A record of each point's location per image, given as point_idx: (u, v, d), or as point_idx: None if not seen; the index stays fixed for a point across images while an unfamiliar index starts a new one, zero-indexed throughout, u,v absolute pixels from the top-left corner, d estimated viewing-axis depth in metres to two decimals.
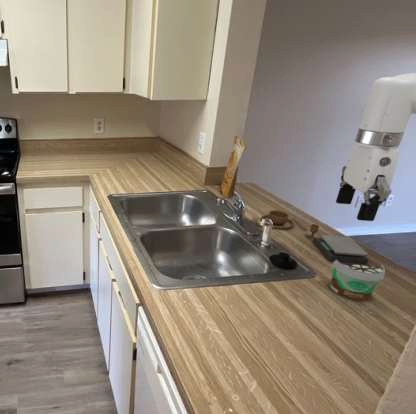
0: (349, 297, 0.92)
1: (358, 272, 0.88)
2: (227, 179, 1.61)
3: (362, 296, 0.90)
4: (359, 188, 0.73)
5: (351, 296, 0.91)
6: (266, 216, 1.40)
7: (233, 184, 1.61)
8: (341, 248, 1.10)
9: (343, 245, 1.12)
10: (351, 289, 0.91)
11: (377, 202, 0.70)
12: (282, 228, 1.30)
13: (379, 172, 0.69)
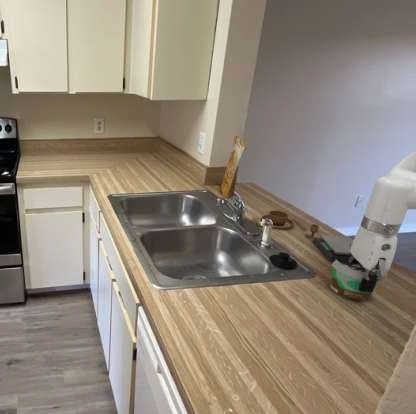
0: (349, 297, 0.92)
1: (358, 272, 0.88)
2: (227, 179, 1.61)
3: (362, 296, 0.90)
4: (364, 265, 0.86)
5: (351, 296, 0.91)
6: (266, 216, 1.40)
7: (233, 184, 1.61)
8: (341, 248, 1.10)
9: (343, 245, 1.12)
10: (351, 289, 0.91)
11: (375, 279, 0.84)
12: (282, 228, 1.30)
13: (381, 255, 0.82)
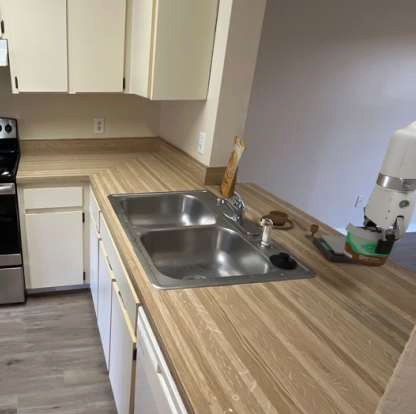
0: (364, 261, 0.87)
1: (374, 234, 0.83)
2: (227, 179, 1.61)
3: (378, 260, 0.86)
4: (380, 225, 0.81)
5: (366, 260, 0.87)
6: (266, 216, 1.40)
7: (233, 184, 1.61)
8: (341, 248, 1.10)
9: (343, 245, 1.12)
10: (366, 252, 0.86)
11: (393, 239, 0.80)
12: (282, 228, 1.30)
13: (399, 213, 0.77)
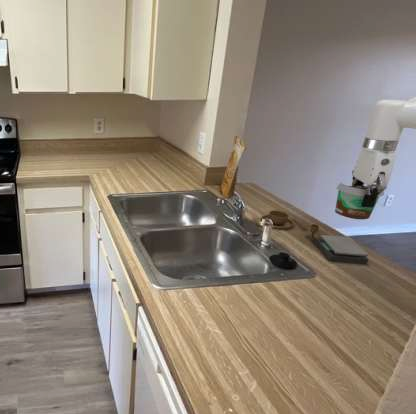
0: (352, 215, 1.03)
1: (360, 190, 0.99)
2: (227, 179, 1.61)
3: (364, 213, 1.01)
4: (366, 182, 0.97)
5: (354, 214, 1.02)
6: (266, 216, 1.40)
7: (233, 184, 1.61)
8: (341, 248, 1.10)
9: (343, 245, 1.12)
10: (354, 207, 1.02)
11: (376, 193, 0.95)
12: (282, 228, 1.30)
13: (381, 170, 0.93)
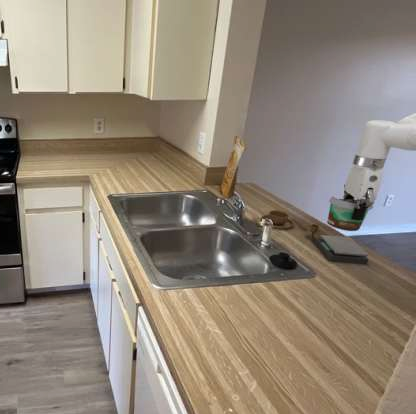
0: (343, 227, 1.09)
1: (350, 203, 1.05)
2: (227, 179, 1.61)
3: (354, 225, 1.08)
4: (355, 196, 1.03)
5: (345, 226, 1.09)
6: (266, 216, 1.40)
7: (233, 184, 1.61)
8: (341, 248, 1.10)
9: (343, 245, 1.12)
10: (345, 219, 1.08)
11: (364, 207, 1.02)
12: (282, 228, 1.30)
13: (369, 185, 0.99)
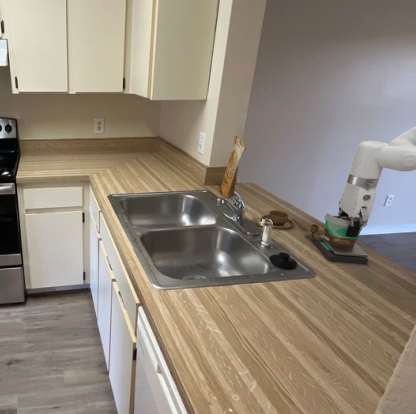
0: (338, 243, 1.11)
1: (345, 221, 1.08)
2: (227, 179, 1.61)
3: (348, 242, 1.10)
4: (350, 214, 1.06)
5: (340, 242, 1.11)
6: (266, 216, 1.40)
7: (233, 184, 1.61)
8: (341, 248, 1.10)
9: None
10: (339, 236, 1.10)
11: (358, 225, 1.04)
12: (282, 228, 1.30)
13: (363, 204, 1.02)
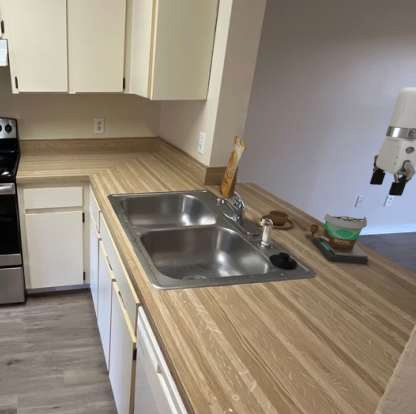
0: (338, 244, 1.12)
1: (345, 221, 1.08)
2: (227, 179, 1.61)
3: (348, 242, 1.10)
4: (390, 171, 0.96)
5: (339, 243, 1.11)
6: (266, 216, 1.40)
7: (233, 184, 1.61)
8: (341, 249, 1.10)
9: None
10: (339, 236, 1.11)
11: (404, 180, 0.93)
12: (282, 228, 1.30)
13: (406, 158, 0.92)
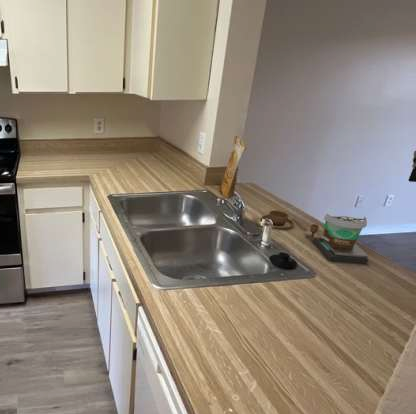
0: (338, 244, 1.12)
1: (345, 221, 1.08)
2: (227, 179, 1.61)
3: (348, 242, 1.10)
4: None
5: (339, 243, 1.11)
6: (266, 216, 1.40)
7: (233, 184, 1.61)
8: (341, 249, 1.10)
9: None
10: (339, 236, 1.11)
11: None
12: (282, 228, 1.30)
13: None
